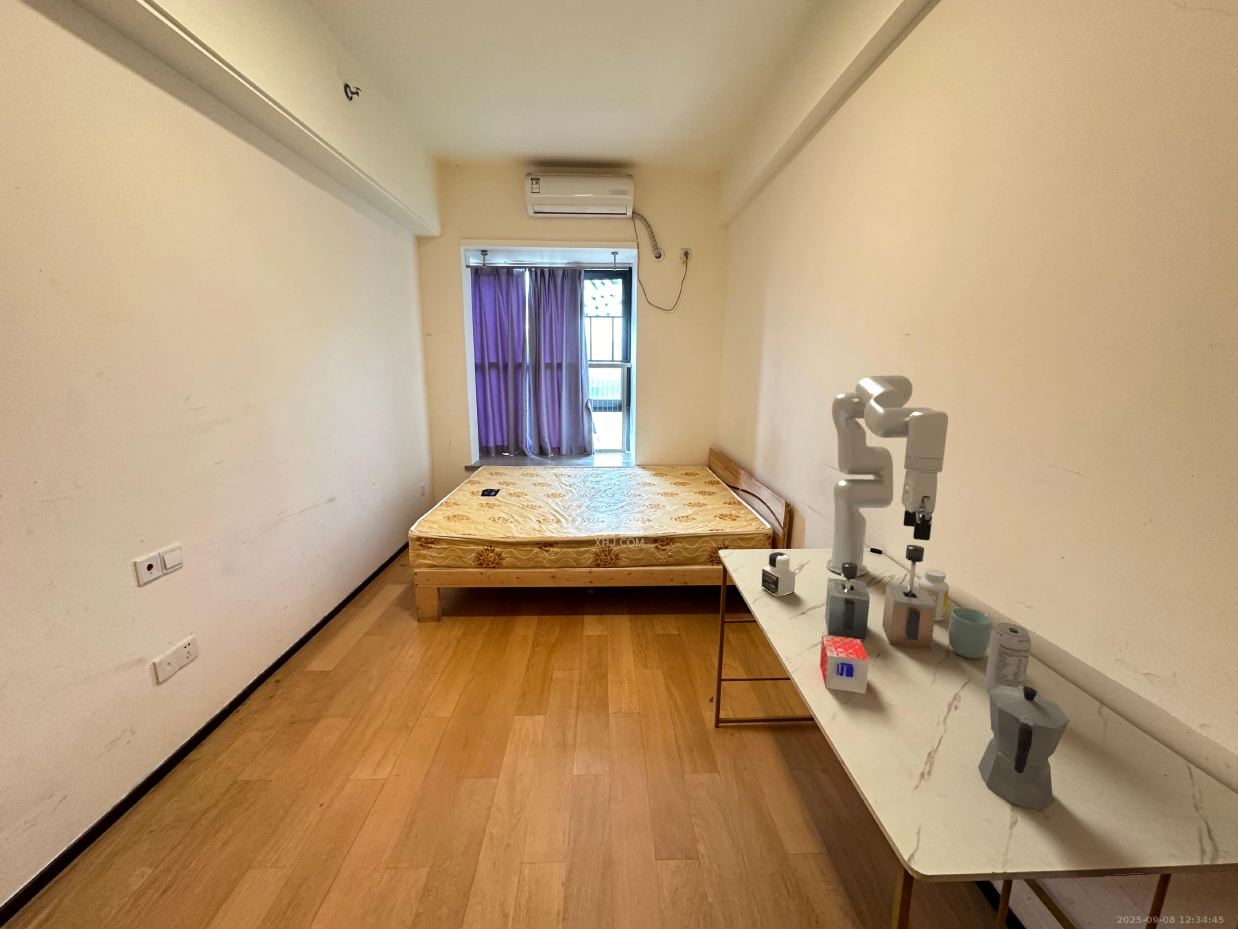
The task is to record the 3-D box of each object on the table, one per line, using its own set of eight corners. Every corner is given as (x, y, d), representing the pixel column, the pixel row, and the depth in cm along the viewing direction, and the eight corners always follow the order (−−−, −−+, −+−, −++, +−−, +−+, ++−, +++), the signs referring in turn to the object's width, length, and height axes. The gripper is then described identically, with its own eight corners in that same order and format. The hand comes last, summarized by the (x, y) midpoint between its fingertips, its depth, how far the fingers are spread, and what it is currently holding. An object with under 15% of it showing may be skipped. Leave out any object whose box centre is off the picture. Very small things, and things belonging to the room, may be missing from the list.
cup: (994, 665, 103) (1000, 625, 101) (956, 661, 105) (961, 622, 103) (975, 645, 111) (980, 608, 109) (939, 642, 112) (944, 605, 110)
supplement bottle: (936, 609, 127) (941, 567, 125) (950, 622, 121) (956, 578, 118) (911, 608, 128) (915, 566, 126) (924, 621, 122) (929, 577, 119)
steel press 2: (882, 625, 120) (886, 584, 118) (920, 631, 117) (925, 589, 115) (890, 647, 111) (895, 603, 109) (932, 654, 108) (938, 609, 106)
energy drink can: (1017, 689, 95) (1028, 625, 92) (1024, 708, 90) (1036, 640, 87) (981, 680, 98) (991, 618, 95) (986, 697, 93) (996, 632, 90)
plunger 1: (830, 612, 123) (834, 558, 120) (856, 616, 121) (861, 561, 118) (833, 625, 117) (837, 568, 114) (860, 629, 115) (865, 571, 112)
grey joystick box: (825, 617, 125) (827, 577, 123) (860, 622, 122) (864, 582, 120) (828, 637, 116) (831, 595, 113) (866, 643, 113) (870, 600, 110)
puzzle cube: (857, 670, 103) (860, 639, 101) (865, 694, 96) (869, 660, 94) (819, 665, 105) (821, 634, 103) (825, 687, 98) (827, 655, 96)
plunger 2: (891, 598, 117) (897, 541, 114) (920, 602, 115) (926, 544, 112) (897, 611, 111) (903, 551, 108) (927, 615, 109) (934, 553, 106)
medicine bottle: (760, 588, 143) (762, 552, 140) (778, 583, 146) (779, 548, 143) (777, 598, 136) (779, 561, 134) (795, 592, 139) (797, 556, 137)
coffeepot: (981, 745, 82) (995, 656, 78) (1052, 775, 75) (1071, 680, 72) (970, 804, 71) (986, 705, 67) (1053, 845, 65) (1075, 738, 61)
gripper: (896, 456, 115) (890, 520, 118) (914, 470, 99) (906, 543, 102) (931, 457, 112) (923, 522, 116) (954, 471, 97) (945, 547, 100)
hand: (915, 532), depth 109 cm, fingers open, 9 cm apart
